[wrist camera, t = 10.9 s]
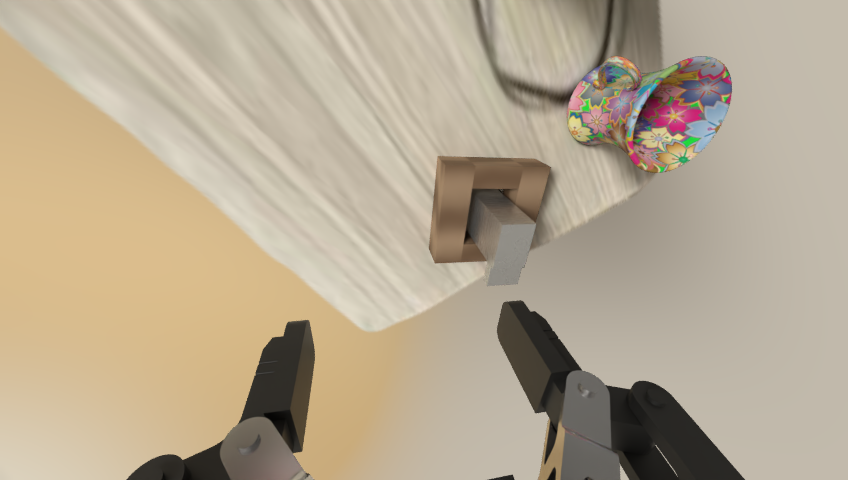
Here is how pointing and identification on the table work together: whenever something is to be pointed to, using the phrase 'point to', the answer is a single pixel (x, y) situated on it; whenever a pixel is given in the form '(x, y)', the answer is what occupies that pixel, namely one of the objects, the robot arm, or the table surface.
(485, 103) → the table surface
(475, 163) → the well block
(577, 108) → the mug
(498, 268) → the grey rectangular block
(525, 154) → the table surface
